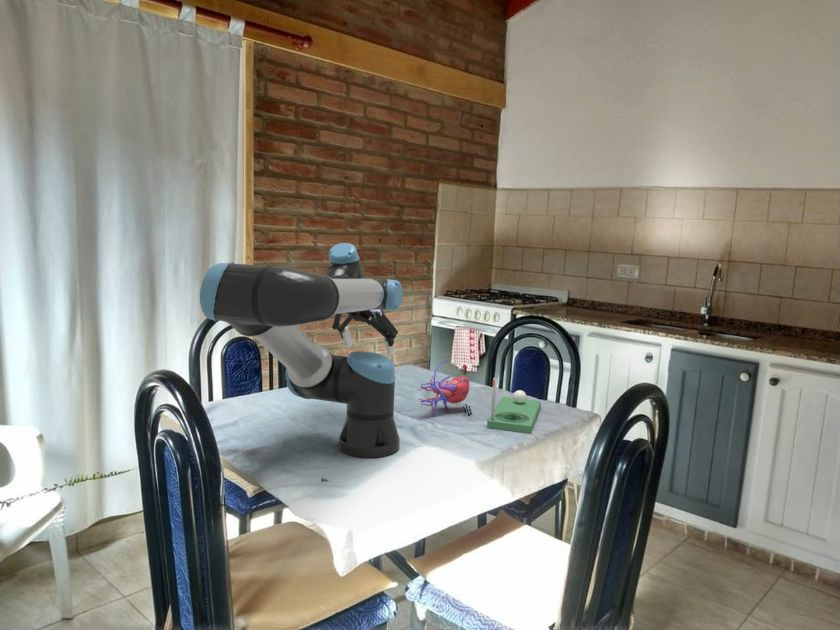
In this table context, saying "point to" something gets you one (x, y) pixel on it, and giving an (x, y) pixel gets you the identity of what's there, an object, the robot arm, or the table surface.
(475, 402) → the table surface
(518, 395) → the ball
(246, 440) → the table surface
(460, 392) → the heart model
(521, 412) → the green
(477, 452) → the table surface
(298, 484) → the table surface
